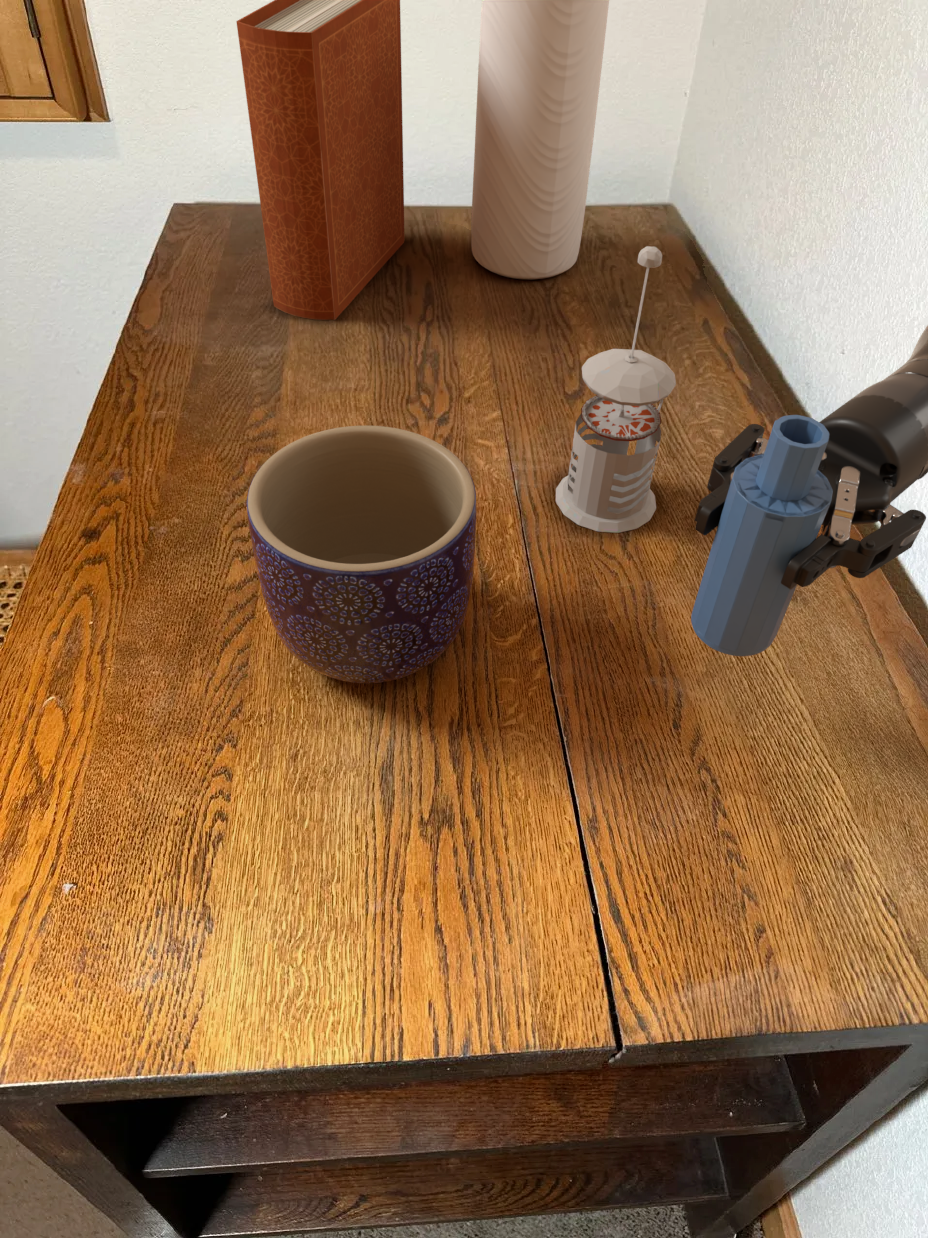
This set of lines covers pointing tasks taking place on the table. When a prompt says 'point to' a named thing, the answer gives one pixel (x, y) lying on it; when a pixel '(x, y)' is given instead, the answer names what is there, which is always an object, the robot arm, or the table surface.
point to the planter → (364, 549)
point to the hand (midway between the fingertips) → (744, 548)
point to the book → (326, 145)
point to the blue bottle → (762, 538)
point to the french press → (617, 435)
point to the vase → (534, 132)
